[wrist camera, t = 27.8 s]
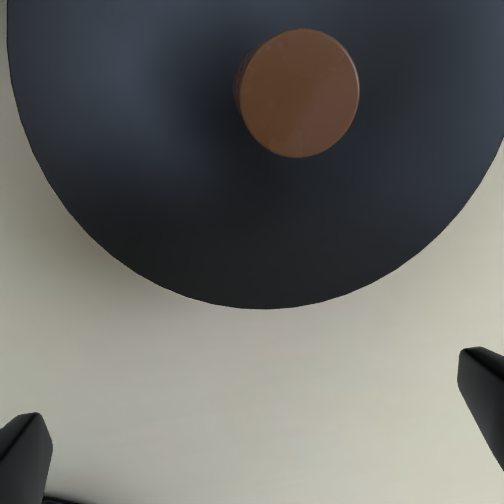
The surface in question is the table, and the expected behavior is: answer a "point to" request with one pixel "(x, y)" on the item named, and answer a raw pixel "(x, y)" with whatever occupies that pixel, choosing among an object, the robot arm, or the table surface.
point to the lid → (260, 133)
